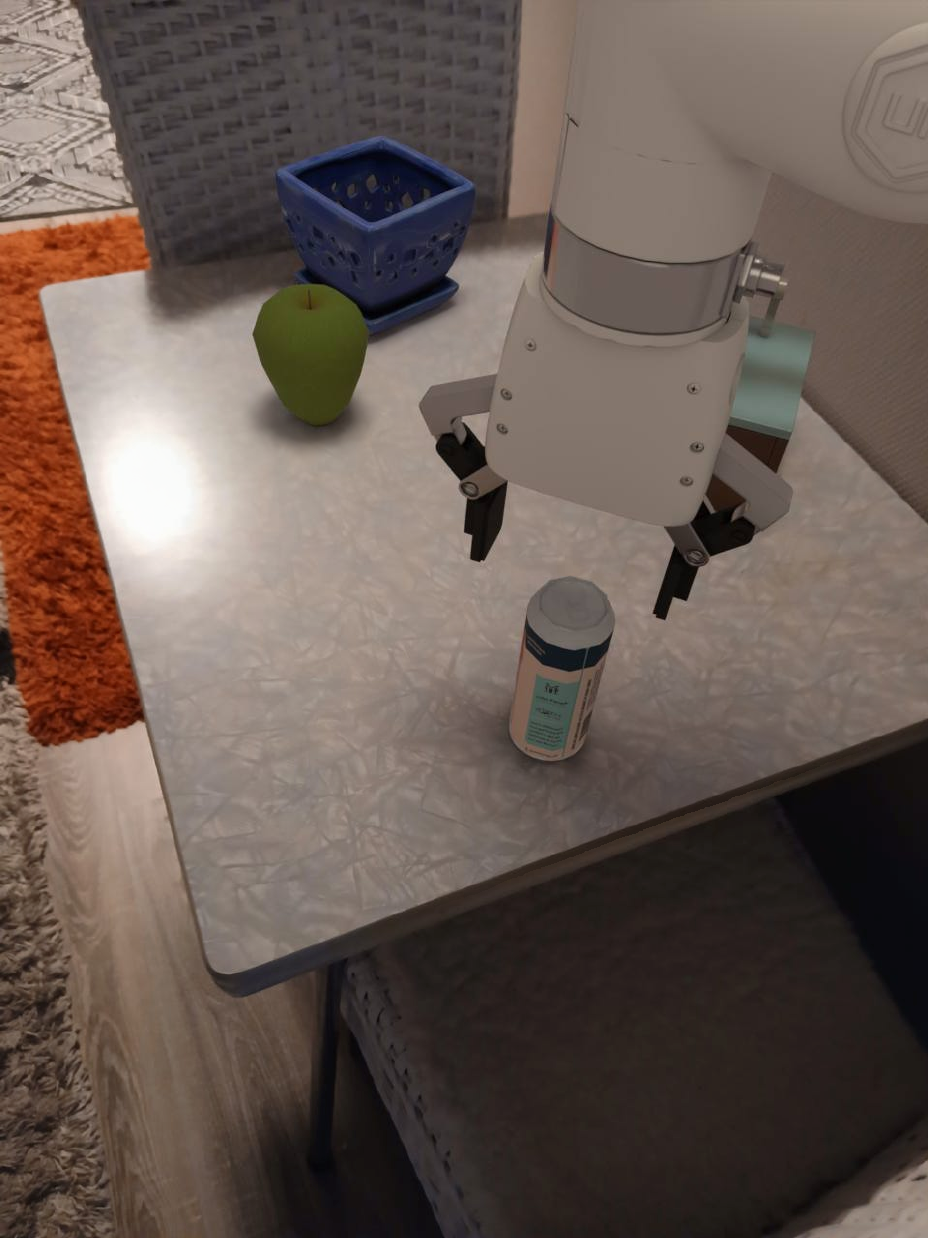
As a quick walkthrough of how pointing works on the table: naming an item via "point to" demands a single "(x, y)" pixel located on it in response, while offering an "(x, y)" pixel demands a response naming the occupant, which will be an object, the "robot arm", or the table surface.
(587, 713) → the beer can
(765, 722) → the table surface
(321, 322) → the apple
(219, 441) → the table surface
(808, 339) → the lid
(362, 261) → the flower pot
